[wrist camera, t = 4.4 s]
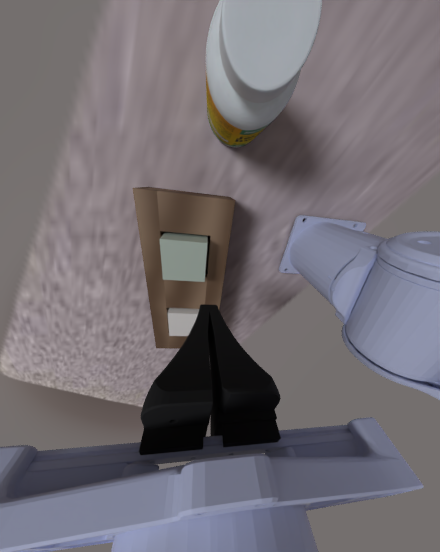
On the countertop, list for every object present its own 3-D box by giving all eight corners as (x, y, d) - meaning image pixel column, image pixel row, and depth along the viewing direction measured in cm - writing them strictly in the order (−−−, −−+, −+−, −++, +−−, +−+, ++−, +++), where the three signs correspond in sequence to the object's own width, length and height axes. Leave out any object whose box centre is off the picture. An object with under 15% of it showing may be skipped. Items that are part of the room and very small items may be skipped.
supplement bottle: (243, 45, 12) (314, -223, 4) (274, 119, 15) (359, 39, 7) (193, 103, 14) (173, -12, 6) (229, 162, 16) (251, 141, 8)
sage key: (207, 234, 17) (207, 243, 15) (205, 268, 20) (204, 281, 17) (166, 230, 17) (159, 238, 14) (168, 266, 19) (162, 279, 16)
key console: (229, 196, 18) (235, 200, 14) (212, 329, 29) (213, 348, 25) (147, 186, 17) (132, 187, 13) (162, 327, 28) (156, 348, 24)
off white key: (202, 299, 23) (201, 314, 21) (201, 320, 25) (200, 336, 23) (172, 298, 23) (167, 313, 20) (173, 320, 25) (169, 335, 22)
